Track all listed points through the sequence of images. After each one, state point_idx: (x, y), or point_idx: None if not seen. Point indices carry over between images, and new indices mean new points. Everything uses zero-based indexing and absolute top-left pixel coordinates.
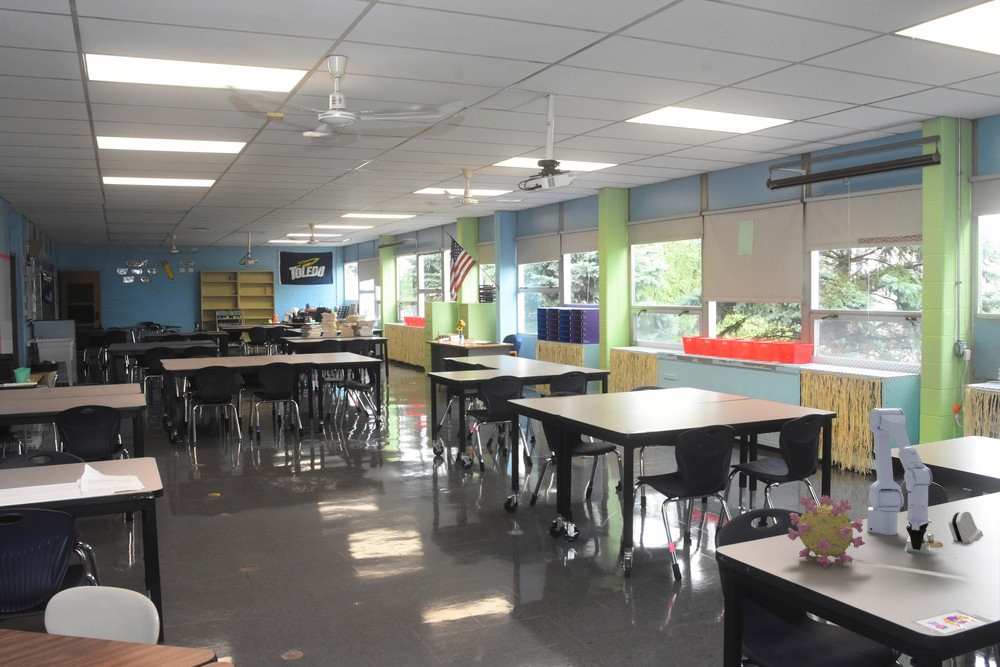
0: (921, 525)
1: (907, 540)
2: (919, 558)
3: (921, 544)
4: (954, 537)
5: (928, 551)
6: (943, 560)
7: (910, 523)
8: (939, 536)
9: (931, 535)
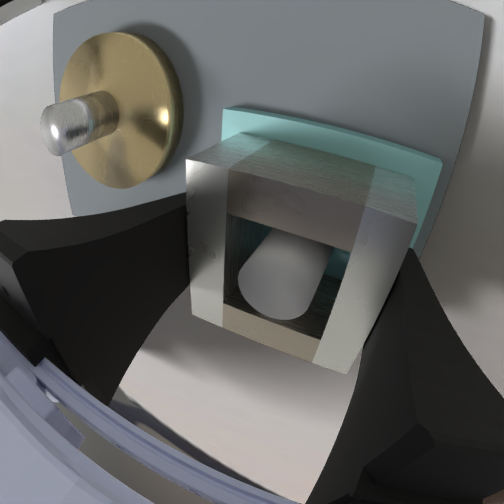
0: (73, 316)
1: (330, 365)
2: (480, 242)
3: (401, 266)
4: (11, 11)
5: (346, 144)
6: (487, 46)
7: (107, 396)
8: (4, 85)
9: (65, 121)
